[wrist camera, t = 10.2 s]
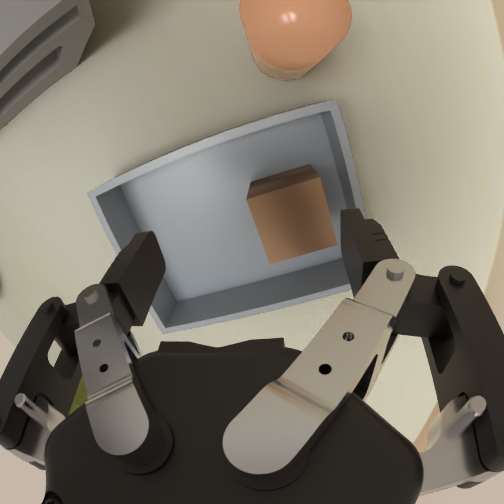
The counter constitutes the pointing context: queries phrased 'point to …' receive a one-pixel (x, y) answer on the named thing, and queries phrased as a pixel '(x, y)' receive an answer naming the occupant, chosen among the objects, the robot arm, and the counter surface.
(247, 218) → the tote
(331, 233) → the cube
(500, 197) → the counter surface
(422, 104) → the counter surface
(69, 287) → the counter surface
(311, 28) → the peach dome-topped cylinder
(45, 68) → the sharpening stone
